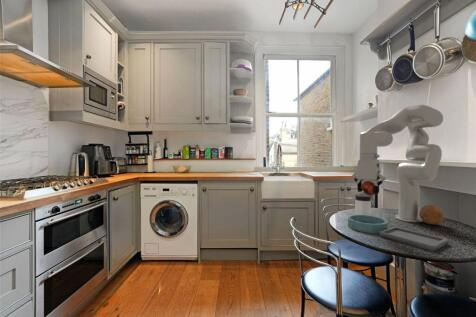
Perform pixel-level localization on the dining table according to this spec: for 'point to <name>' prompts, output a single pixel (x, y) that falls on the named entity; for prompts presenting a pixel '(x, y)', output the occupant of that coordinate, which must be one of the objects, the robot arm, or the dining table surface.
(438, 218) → the onion
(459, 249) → the dining table surface
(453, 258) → the dining table surface
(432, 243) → the tray
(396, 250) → the dining table surface
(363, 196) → the jar
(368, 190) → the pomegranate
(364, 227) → the teal polygonal ring
